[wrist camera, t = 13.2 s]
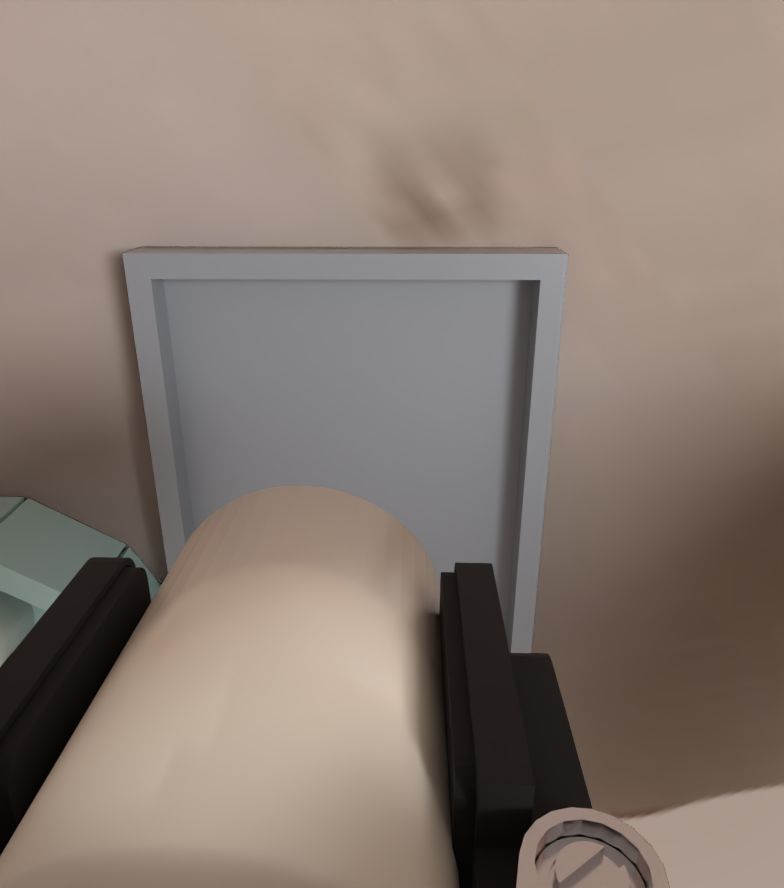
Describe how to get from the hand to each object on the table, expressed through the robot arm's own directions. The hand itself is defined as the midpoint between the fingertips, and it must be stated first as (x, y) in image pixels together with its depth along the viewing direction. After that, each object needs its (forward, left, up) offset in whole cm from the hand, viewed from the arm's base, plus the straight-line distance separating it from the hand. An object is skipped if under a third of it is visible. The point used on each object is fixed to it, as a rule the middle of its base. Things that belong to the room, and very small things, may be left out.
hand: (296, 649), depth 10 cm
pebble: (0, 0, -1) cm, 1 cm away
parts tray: (0, +4, -16) cm, 16 cm away
